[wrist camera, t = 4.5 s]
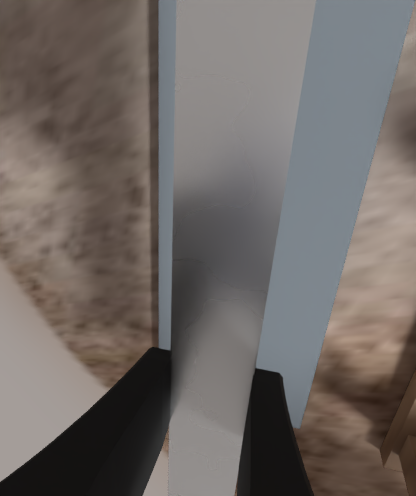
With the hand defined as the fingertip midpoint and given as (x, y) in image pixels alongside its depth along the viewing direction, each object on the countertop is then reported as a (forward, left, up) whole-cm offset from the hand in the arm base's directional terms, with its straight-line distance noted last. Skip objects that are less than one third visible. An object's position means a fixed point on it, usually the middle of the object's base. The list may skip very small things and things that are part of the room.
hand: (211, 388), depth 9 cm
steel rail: (0, 0, -2) cm, 2 cm away
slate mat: (0, 0, -8) cm, 8 cm away
